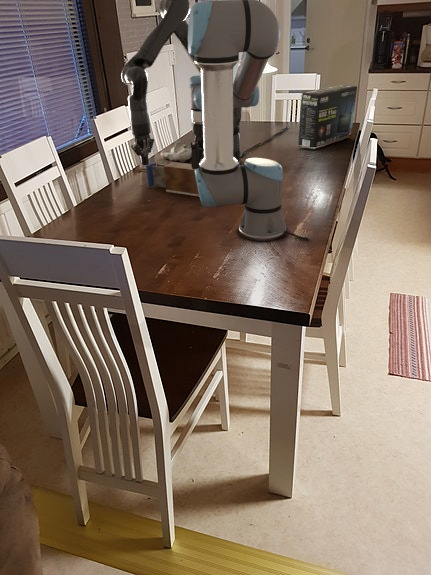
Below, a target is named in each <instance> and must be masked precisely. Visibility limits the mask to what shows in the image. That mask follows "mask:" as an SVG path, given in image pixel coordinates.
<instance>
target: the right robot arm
mask: <svg viewBox="0 0 431 575" xmlns="http://www.w3.org/2000/svg"><path fill="white" fill-rule="evenodd" d="M188 25H189V26H188V52H189V54H190V55H194V59H195V63H196V64H197V65H198V66H199V67H200V69H201V75H200V74H199V75H192V76H191V77H190V78H189V86H188V88H189V96H190V97H189V100H190V115H191V122H192V123H191V132H192V134H193V135H194V137H195V138H194V141H191V142H190V146H191V149H192V157H191V164H192V169H195V178H196V185H197V188H198V193H199V196H198V197H199V200H200V204H201V205H202V206H203V207H205V208H218V207H226V206H227V207H228V206H229V207H230V206H238V205H239V206H240V205H244V211H243V213H242V216H241V220H240V222H239V226H238V232H239V235H240V236H241V237H242V238H244V239H247V240H250V241H254V242H271V241H277V240H279V239H281V238H283V237H285V235H286V234H288V235H290V236H292V237H295V238H296V239H299V240H304V241H308V240H309V237H305V236H301V235H298V234H295V233H292V232H290V231H287V223H286V221H285V216H284V214H283V210H282V200H283V181H284V174H283V173H284V172H283V171H284V170H283V166H282V164H280V163H279V162H278V161H276V160H272V159H268V158H263V157H250V158H246V159H245V160H244V162H243V165H238V160H237V159H236V158H235V157H234V156H233V108H242V109H243V108H246V109H247V108H251V107H256V106H258V104H259V101H260V88H259V82H260V80H261V78H262V75H263V73H264V70H265V68H266V66H267V64H268V62H269V59H270V58H272V57H273V56H274V55H275V53H276V52H277V49H278V48H279V46H280V45H279V44H280V40H281V27H280V23H279V20H278V18H277V16H276V15H275V13H274V11H273V10H272V9H271V8H270V7H269V6H268V5H267V4H265V3H264V2H262V1H260V0H203V1H197V2H195V3H194V4H192V6H191V7H190V11H189V18H188ZM240 53H242V54H241V57H240ZM238 62H239V63H238ZM237 64H238V67H237V70H236V74H235V77H234V67H235V66H237Z"/></svg>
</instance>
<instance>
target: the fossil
mask: <svg viewBox="0 0 431 575" xmlns="http://www.w3.org/2000/svg"><path fill="white" fill-rule="evenodd" d="M160 156H161V158H162V159H163V160H169V161H173V162H178V161H179V163H185V162H187V161H188V160H190V159H192V149H191V145H188V146H187V145H186V143H184V142H183V143H181V142H176V143H175V145H174V146H173V147H172V148H171V149H170V150H168V149H165V150H162V151H161V152H160Z"/></svg>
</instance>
